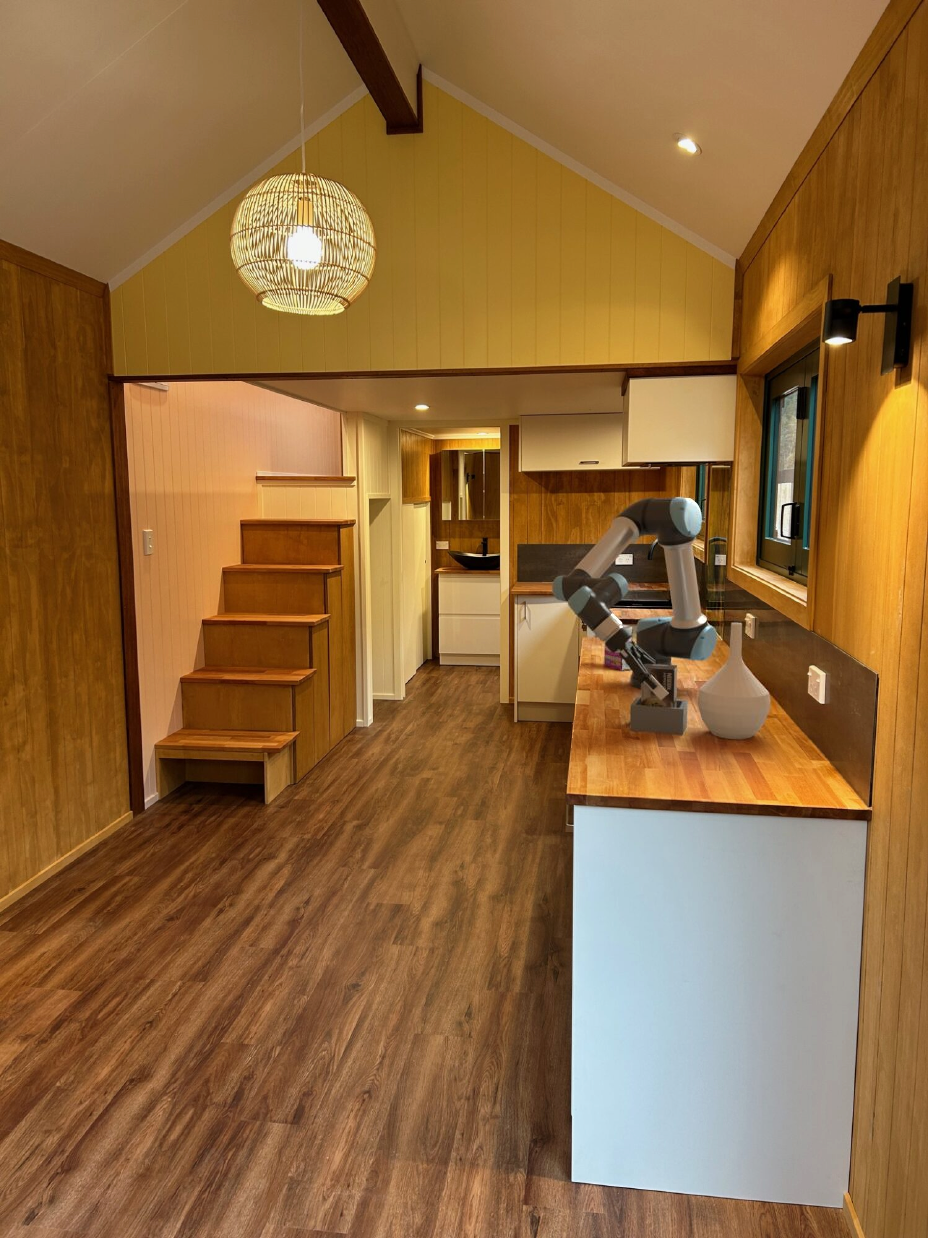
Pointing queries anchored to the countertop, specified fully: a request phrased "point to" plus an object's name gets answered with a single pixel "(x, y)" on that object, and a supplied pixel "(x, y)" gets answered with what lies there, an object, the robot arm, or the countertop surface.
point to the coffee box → (668, 681)
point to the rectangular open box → (658, 718)
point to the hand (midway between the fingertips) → (667, 691)
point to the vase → (734, 696)
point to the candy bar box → (616, 656)
